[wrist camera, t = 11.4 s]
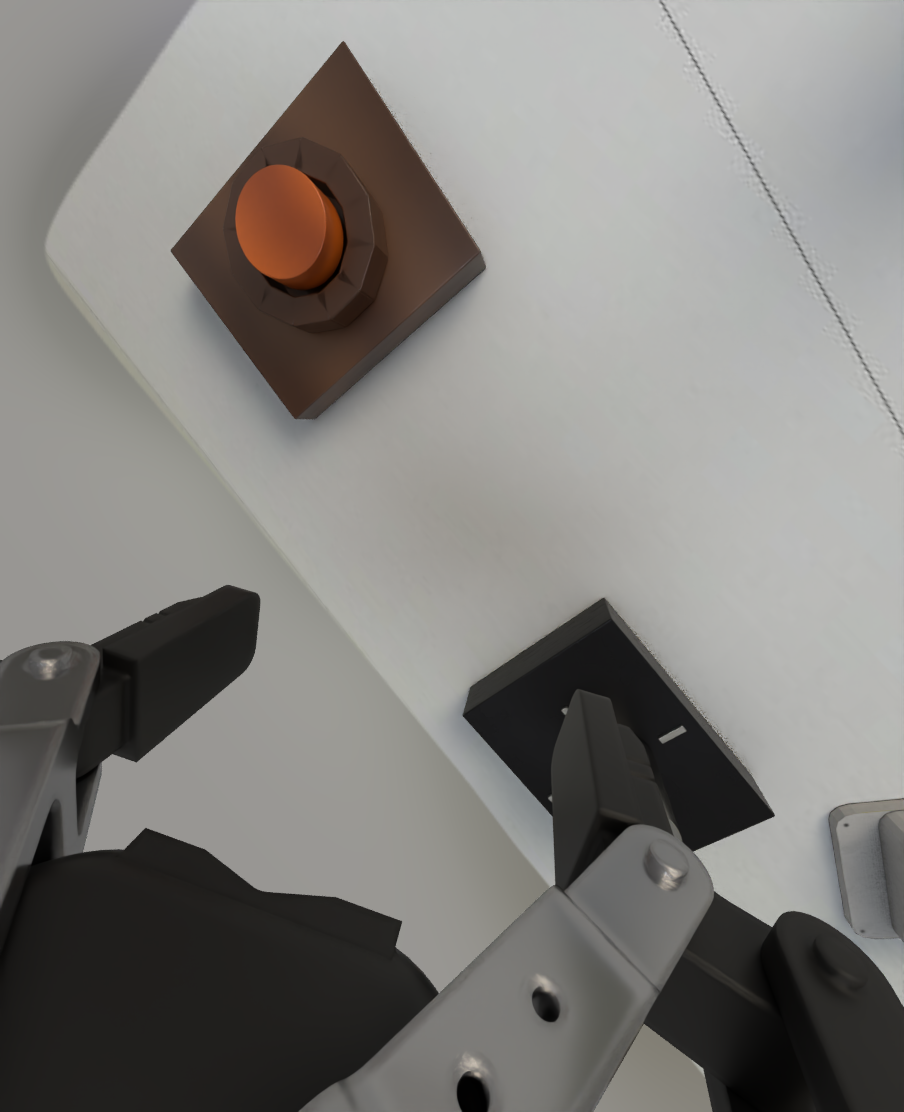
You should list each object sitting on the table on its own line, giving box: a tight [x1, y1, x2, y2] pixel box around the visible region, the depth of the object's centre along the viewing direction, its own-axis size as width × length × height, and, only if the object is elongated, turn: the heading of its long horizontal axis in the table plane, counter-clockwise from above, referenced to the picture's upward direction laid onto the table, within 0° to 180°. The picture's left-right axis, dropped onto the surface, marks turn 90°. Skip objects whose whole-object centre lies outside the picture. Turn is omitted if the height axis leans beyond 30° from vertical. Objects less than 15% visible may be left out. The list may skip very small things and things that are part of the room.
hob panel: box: [463, 598, 775, 852], centre depth 26 cm, size 14×10×3 cm
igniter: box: [171, 41, 486, 419], centre depth 22 cm, size 12×10×4 cm
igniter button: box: [235, 165, 343, 290], centre depth 19 cm, size 4×4×2 cm
